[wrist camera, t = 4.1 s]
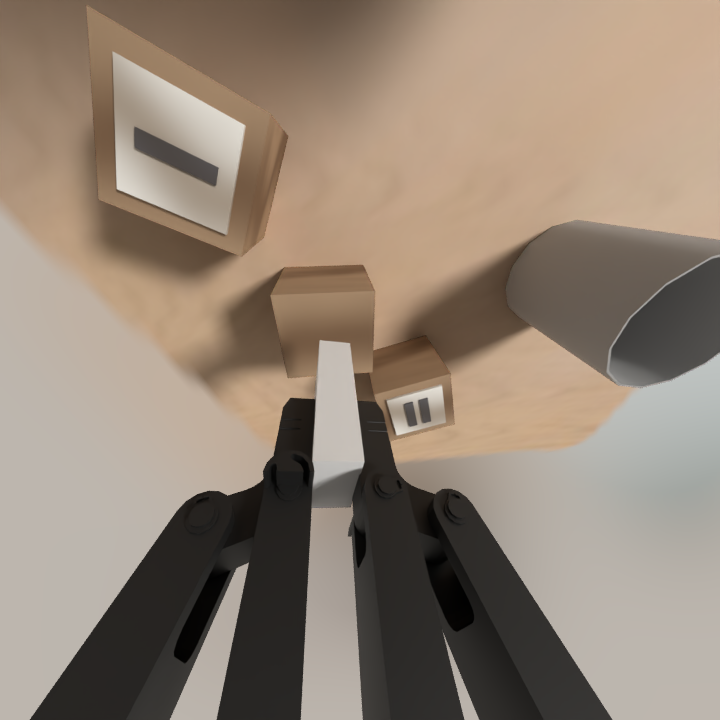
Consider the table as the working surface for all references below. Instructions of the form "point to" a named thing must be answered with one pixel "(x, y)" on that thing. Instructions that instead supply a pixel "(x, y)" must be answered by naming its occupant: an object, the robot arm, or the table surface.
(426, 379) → the numbered block
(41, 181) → the table surface
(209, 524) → the robot arm
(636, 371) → the cup
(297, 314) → the plain block
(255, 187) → the numbered block
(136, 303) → the table surface
